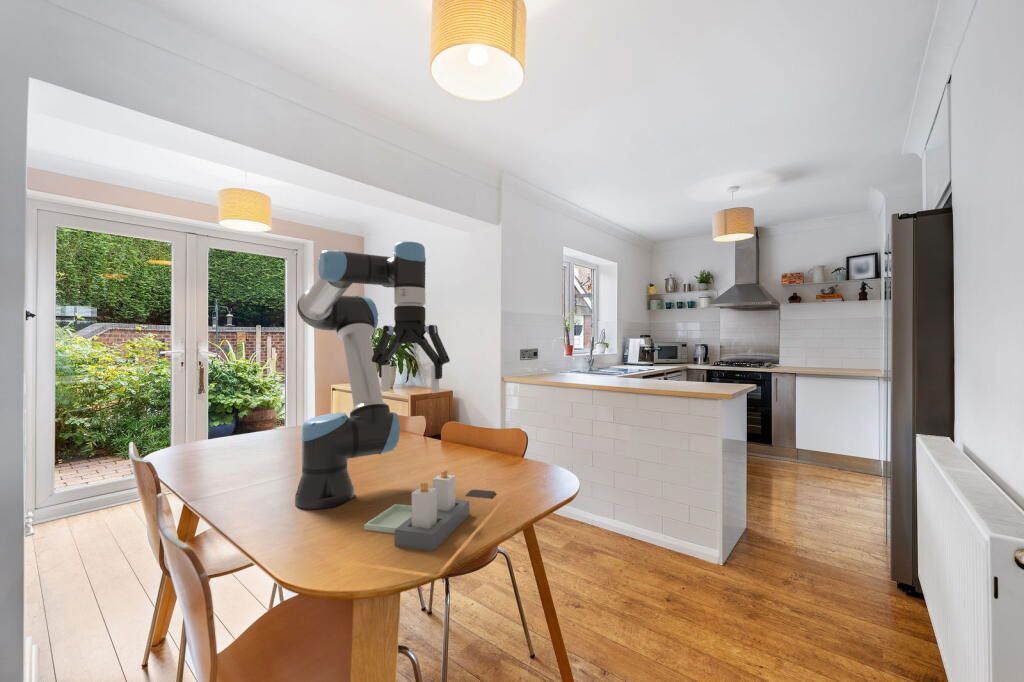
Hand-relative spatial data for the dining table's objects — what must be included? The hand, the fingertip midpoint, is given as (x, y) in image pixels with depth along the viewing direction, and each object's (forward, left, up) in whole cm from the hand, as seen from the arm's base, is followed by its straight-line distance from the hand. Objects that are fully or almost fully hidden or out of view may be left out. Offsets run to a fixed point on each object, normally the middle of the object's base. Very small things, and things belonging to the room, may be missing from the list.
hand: (410, 391), depth 108 cm
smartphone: (+11, +16, -32) cm, 37 cm away
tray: (-2, -3, -31) cm, 32 cm away
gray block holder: (+9, -5, -31) cm, 33 cm away
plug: (+9, -10, -30) cm, 33 cm away
